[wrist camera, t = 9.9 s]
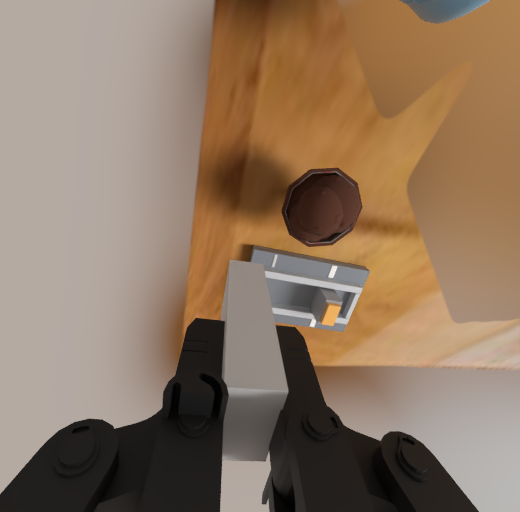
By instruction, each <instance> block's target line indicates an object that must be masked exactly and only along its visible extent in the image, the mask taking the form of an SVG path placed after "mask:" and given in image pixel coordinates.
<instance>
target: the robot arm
mask: <svg viewBox="0 0 520 512" xmlns="http://www.w3.org/2000/svg"><path fill="white" fill-rule="evenodd" d="M400 1H402V2H404V3H406V4H407V5H408V6H409V7H410V8H411V9H412V10H413V11H414V12H415V13H416V14H417V16H419V18H420V19H422V20H424V21H427V22H431V23H443V22H448V21H451V20H454V19H457V18H459V17H461V16H464V15H466V14H468V13H470V12H471V11H473V10H475V9H477V8H478V7H480V6H482V5H484V4H485V3H487V2H489V1H490V0H400ZM268 452H270V462H271V471H270V474H269V477H268V480H267V483H266V486H265V488H264V491H263V496H262V504H266V503H267V500H268V498H269V510H270V512H479V511H478V510H477V509H476V507H475V506H474V505H473V504H472V502H471V501H470V500H469V499H468V498H467V496H466V495H465V494H464V493H463V491H462V490H461V489H460V488H459V486H458V485H457V484H456V482H455V481H454V480H453V479H452V477H451V476H450V475H449V474H448V473H447V471H446V470H445V469H444V467H443V466H442V465H441V464H440V462H439V461H438V460H437V459H436V457H435V456H434V455H433V454H432V453H431V452H430V451H429V450H428V449H427V448H426V447H425V446H424V444H423V443H421V442H420V441H418V440H416V439H415V438H414V437H412V436H411V435H408V434H405V433H402V432H389V433H387V434H386V435H384V436H383V438H382V440H381V441H379V440H376V439H374V438H371V437H368V436H366V435H363V434H360V433H358V432H355V431H353V430H351V429H349V428H347V427H346V426H344V425H343V423H342V422H341V420H340V418H339V416H338V415H337V414H335V412H334V411H333V410H332V409H331V408H330V407H327V405H326V403H325V401H324V398H323V395H322V392H321V389H320V385H319V382H318V380H317V376H316V373H315V370H314V367H313V364H312V362H311V358H310V355H309V352H308V349H307V345H306V342H305V339H304V337H303V336H302V335H301V334H300V332H299V331H298V330H297V329H296V328H295V327H288V326H278V325H275V321H274V316H273V311H272V306H271V301H270V296H269V291H268V286H267V281H266V276H265V271H264V266H263V264H260V263H252V262H245V261H238V260H230V262H229V268H228V274H227V281H226V287H225V293H224V299H223V305H222V313H221V321H220V320H210V319H200V318H195V320H194V321H193V322H192V323H191V324H190V325H189V326H188V327H187V330H186V334H185V339H184V343H183V347H182V351H181V355H180V359H179V363H178V367H177V371H176V375H175V376H174V377H173V378H172V379H171V380H170V381H169V382H168V384H167V386H166V388H165V390H164V393H163V407H162V409H161V410H160V411H159V412H157V413H156V414H155V415H153V416H152V417H150V418H148V419H147V420H144V421H141V422H138V423H136V424H132V425H128V426H124V427H120V428H116V429H114V427H113V426H112V425H111V424H109V423H107V422H105V421H103V420H99V419H86V420H82V421H78V422H74V423H73V424H70V425H68V426H67V427H65V428H63V429H61V430H59V431H58V432H57V433H56V434H55V435H53V436H52V437H51V438H50V439H49V440H48V441H47V442H46V443H45V444H44V445H43V446H42V447H41V448H40V449H39V450H38V452H37V453H36V454H35V455H34V456H33V457H32V459H31V460H30V461H29V462H28V463H27V464H26V465H25V467H24V468H23V469H22V470H21V471H20V472H19V473H18V475H17V476H16V477H15V478H14V479H13V480H12V482H11V483H10V484H9V485H8V486H7V487H6V488H5V490H4V491H3V492H2V493H1V494H0V512H220V496H221V495H220V494H221V471H222V460H232V461H266V458H267V455H268Z"/></svg>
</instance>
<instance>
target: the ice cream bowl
mask: <svg viewBox="0 0 520 512" xmlns="http://www.w3.org/2000/svg"><path fill="white" fill-rule="evenodd" d="M361 209H362V203H361V198H360V193H359V188H358V183H357V182H356V181H354V180H353V179H352V178H350V177H349V176H348V175H346V174H345V173H344V172H343V171H341V170H340V169H339V168H326V169H311V170H309V171H307V172H306V173H305V174H304V175H302V176H301V177H300V178H299V179H297V180H296V181H295V182H294V183H292V184H291V185H290V186H289V188H288V191H287V195H286V198H285V201H284V204H283V207H282V215H283V218H284V221H285V224H286V226H287V229H288V232H289V235H291V236H292V237H294V238H295V239H297V240H299V241H300V242H302V243H303V244H305V245H306V246H308V247H313V246H327V245H333V244H334V243H336V242H337V241H338V240H340V239H341V238H343V237H344V236H345V235H347V234H348V233H350V232H351V231H352V230H353V228H354V225H355V223H356V221H357V218H358V216H359V214H360V211H361Z"/></svg>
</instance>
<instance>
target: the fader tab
mask: <svg viewBox="0 0 520 512" xmlns="http://www.w3.org/2000/svg"><path fill="white" fill-rule="evenodd" d="M342 303H343V302H342V300H341V299H340V297H339V296H338V294H337V293H336V291H335V290H334V289H330V288H324V287H318V286H317V288H316V291H315V294H314V297H313V299H312V302H311V305H310V309H311V311H312V313H313V316H314V318H315V320H316V322H317V324H322V325H329V326H334V323H335V321H336V319H337V316H338V314H339V311H340V309H341V305H342Z"/></svg>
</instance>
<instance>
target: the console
mask: <svg viewBox="0 0 520 512" xmlns="http://www.w3.org/2000/svg"><path fill="white" fill-rule="evenodd" d="M249 262H252V263H260V264H263V266H264V271H265V276H266V281H267V286H268V291H269V296H270V301H271V306H272V311H273V316H274V321H275V322H278V323H285V324H292V325H299V326H306V327H313V328H320V329H327V330H334V331H341V332H344V329H345V327H346V325H347V323H348V321H349V318H350V316H351V314H352V311H353V309H354V307H355V305H356V302H357V300H358V298H359V296H360V293H361V291H362V289H363V286H364V284H365V282H366V279H367V277H368V275H369V273H370V271H369V270H368V269H367V268H366V267H364V266H359V265H354V264H348V263H343V262H338V261H333V260H328V259H323V258H317V257H312V256H307V255H302V254H297V253H292V252H287V251H281V250H276V249H271V248H266V247H261V246H256V245H253V248H252V252H251V256H250V260H249ZM317 286H318V287H324V288H330V289H334V290H335V291H336V293H337V294H338V296H339V297H340V299H341V300H342V302H343V303H342V305H341V309H340V311H339V314H338V316H337V319H336V321H335V323H334V326H329V325H322V324H317V322H316V320H315V318H314V316H313V313H312V311H311V309H310V305H311V302H312V299H313V297H314V294H315V291H316V288H317Z"/></svg>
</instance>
